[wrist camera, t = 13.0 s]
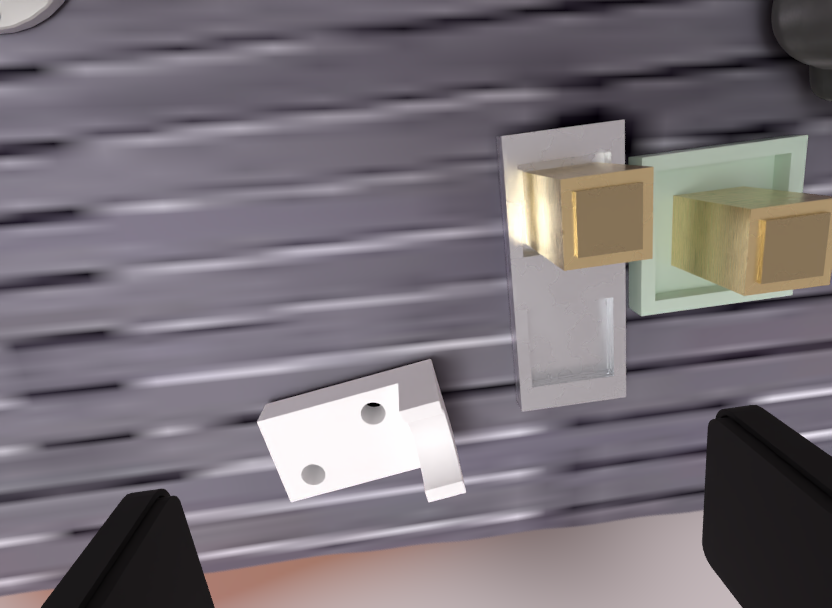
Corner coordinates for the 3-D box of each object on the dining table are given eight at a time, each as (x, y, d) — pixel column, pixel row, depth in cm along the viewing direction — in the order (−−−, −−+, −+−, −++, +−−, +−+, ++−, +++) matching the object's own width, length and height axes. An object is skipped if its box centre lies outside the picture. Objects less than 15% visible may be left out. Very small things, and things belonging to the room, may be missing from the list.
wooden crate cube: (673, 195, 36) (754, 209, 28) (743, 186, 36) (845, 197, 28) (671, 265, 37) (747, 297, 29) (738, 256, 37) (833, 285, 29)
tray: (628, 157, 35) (642, 157, 33) (785, 135, 35) (808, 134, 33) (628, 307, 38) (641, 316, 36) (772, 287, 38) (792, 295, 37)
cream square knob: (522, 172, 35) (562, 179, 27) (595, 162, 35) (656, 166, 27) (527, 244, 36) (565, 272, 28) (596, 234, 36) (655, 259, 28)
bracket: (430, 353, 39) (439, 400, 32) (452, 431, 41) (466, 492, 34) (268, 398, 39) (241, 454, 32) (299, 473, 42) (279, 541, 34)
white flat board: (496, 136, 34) (501, 136, 33) (613, 120, 34) (624, 119, 33) (516, 400, 40) (522, 411, 39) (616, 386, 40) (626, 397, 39)
